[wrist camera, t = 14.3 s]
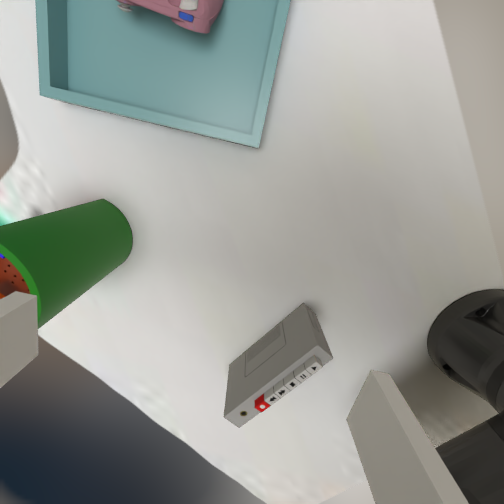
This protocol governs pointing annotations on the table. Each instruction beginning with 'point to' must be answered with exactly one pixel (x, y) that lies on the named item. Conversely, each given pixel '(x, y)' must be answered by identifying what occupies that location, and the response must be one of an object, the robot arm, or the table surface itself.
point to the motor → (62, 254)
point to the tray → (164, 64)
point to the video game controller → (181, 11)
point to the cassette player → (275, 365)
